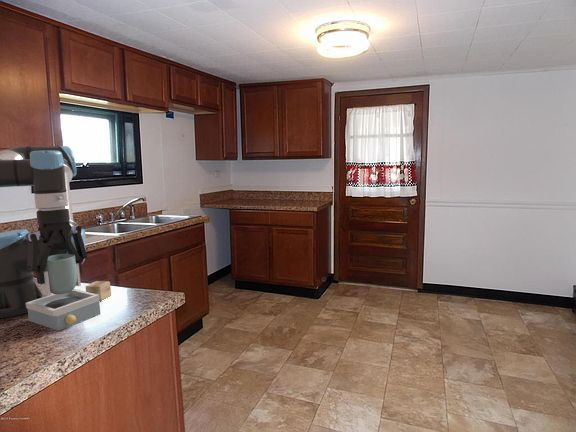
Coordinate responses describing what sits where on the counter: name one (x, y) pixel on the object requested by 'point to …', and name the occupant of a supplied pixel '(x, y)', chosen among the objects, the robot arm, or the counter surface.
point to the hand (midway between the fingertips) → (62, 289)
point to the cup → (61, 273)
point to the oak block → (100, 289)
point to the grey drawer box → (63, 309)
